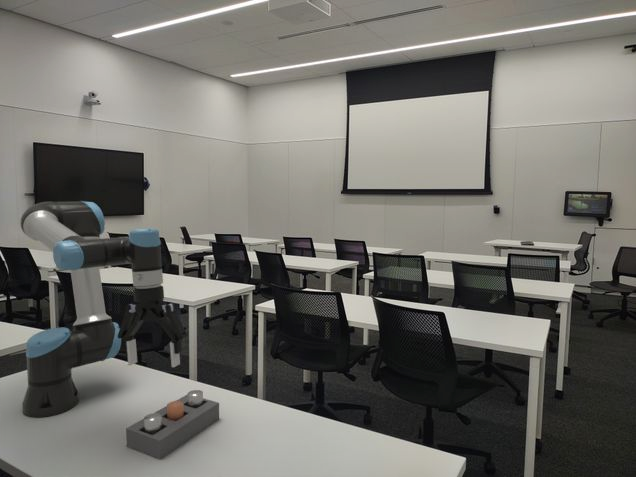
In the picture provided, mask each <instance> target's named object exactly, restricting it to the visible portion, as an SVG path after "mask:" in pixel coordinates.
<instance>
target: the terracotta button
mask: <svg viewBox="0 0 636 477" xmlns="http://www.w3.org/2000/svg"><path fill="white" fill-rule="evenodd" d="M166 406H167V419H170V420H173V421H177V420H179V419H180V418H182V417H183V416H184V406H183V402H181V401H176V400H174V401H173V400H172V401H170V402H168V403H167V404H166Z"/></svg>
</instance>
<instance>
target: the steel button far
mask: <svg viewBox="0 0 636 477" xmlns="http://www.w3.org/2000/svg"><path fill="white" fill-rule="evenodd" d="M186 395H187V396H188V407H192V408H195V409H197V408H198V407H200V406H201V405H203V398H204V392H203V391H202V390H200V389H193V390H190V391H188V392H187V394H186Z"/></svg>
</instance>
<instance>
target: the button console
mask: <svg viewBox="0 0 636 477" xmlns="http://www.w3.org/2000/svg"><path fill="white" fill-rule="evenodd" d="M175 401H181V402H183V406H184V416H183V417H182V418H180V419H179V420H177V421H173V420H170V419H167V405H165V406H164V407H162V408H160V409H158V410H157V411H154V413H159V414H161V415H162V430H160V431H159V432H157V433H156V434H154V435H150V434H147V433H144V418H142V419H141V420H139V421H137V422H135V423H133V424H132V425H129V426H128V427H126V428H125V432H126V435H125V436H126V438H125V440H126V443H125V444H126V447H128V448H130V449H132V450H135V451H137V452H139V453H142V454H145V455H147V456H150V457H153V458H155V459H157V460H161V459H163V458H164V457H165V456H168V454H171V453H172V451H174V450H176V449H177V448H179V447H180V446H182V445H183V444H185V443H186V442H187V441H189V440H191V439H192V438H193V437H195V436H196V435H199V433H201V432H202V431H203V430H205V429H207V428H208V427H209V426H212V425H213V424H214V423H215V422H217V421H218V420H220V402H219V401H218V402H217V401H214V400H210V399H208V398H204V397H203V405H201V406H200V407H198V408H197V409H195V408H192V407H188V396H187V394H186V395H184V396H182V397H180V398H178V399H176V400H175Z"/></svg>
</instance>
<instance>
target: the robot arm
mask: <svg viewBox="0 0 636 477" xmlns="http://www.w3.org/2000/svg"><path fill="white" fill-rule="evenodd" d="M105 224H106V222H105V217H104V213H103V211H102V209H101V208H100V207H99V206H98V204H96V203H95V202H93V201H84V200H79V201H73V200H72V201H42V202H38V203H36V204H33V205H32V206H30V207H29V208H27V209H26V210H25V211H24V212H23V214H22V215H21V218H20V228H21V230H22V232H23V233H24V234H25V236H27V237H28V238H29V239H31V240H33V241H38V242H40V243H42V245H44V246H45V247H47V248H48V249H49V250H51V252H52V256H53V258H52V259H53V262H54V264H55V267H56V268H57V269H59V270H60V271H70V276H71V282H72V283H71V284H72V291H73V297H74V298H73V299H74V306H75V313H76V320H75V321H74V323H73V324H72V330H71V329H69V328H67V327H65V326H64V327H63V326H62V327H53V328H48V329H45V330H42V331H39V332H36V333H35V334H33V335H32V336H31V337H28V339H27V341H26V347H25V348H26V349H25V356H26V370H27V389H26V391H25V394H24V398H23V401H22V403H21V404H22V409H21V410H22V411H21V412H22V413H23V414H24V415H25V416H27V417H29V418H30V417H31V418H43V417H45V418H46V417H50V416H54V415H55V416H56V415H59V414H62V413H65V412H67V411H69V410H71V409H73V408H74V407H76V406H77V404H78V403H79V400H80V396H79V395H80V394H79V391H78V389H77V386H76V384H75V383H74V380H73V377H72V376H73V375H72V371H73V370H72V369H74V368H79V367H83V366H86V365H90V364H94V363H95V364H96V363H99V362H104V361H107V360H108V359H112V358H115V357H116V356H117V354H118V353H119V351H120V349H121V346H122V340H123V342H124V348H125V349H124V351H125V353H127V366H132V365H135V364H136V363H137V364H138V353H137V343H136V342H137V341H136V338H135V335H136V334H137V332H138V330H139V329H140V328H141V325H142V324H143V323H144V322H156V324H158V325H159V326H160V327H161V328H162V329H163V331H164V332H165V333H166V335H167V336H168V337H169V339H171V341H170V342H169V348H170V350H169V351H170V361H171V364H170V365H171V368H175V367H177V366H179V365H181V356H180V353H182V340H184V339H186V338H187V337H188V332H187V331H186V329H185V327H184V326H183V322H182V321H181V319H180V318H179V316H178V313H177V311H176V307H175V303H173V302H171V303H169V304H164V299H165V293H164V292H165V290H164V286H163V285H162V284H164V278H163V277H164V276H163V275H164V274H163V265H162V263H163V262H162V252H161V251H162V248H161V244H162V242H161V241H162V240H160V238H161V237H160V231H159V230H158V229H157V228H154V227H153V228H136V229H135V228H133V229H131V230H130V231H129V236H119V237H108V238H107V237H106V238H101V237H100V235H102V234H103V233H104V231H105ZM128 264H130V265H131V274H132V275H131V276H132V285H133V287H134V289H133V303H130V304H127V305H125V307H124V308H125V309H124V310H125V313H124V316H123V319H122V322H121V324H120V326H119V323H118V322H114V321H113V320H112V319H113V318H112V316H110V315H108V314H107V313H106V306H105V299H104V292H103V286H102V285H103V284H102V279H101V270H100V267H109V266H110V267H111V266H119V265H128ZM134 302H135V303H134ZM135 314H137V315H136V316H135Z"/></svg>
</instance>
